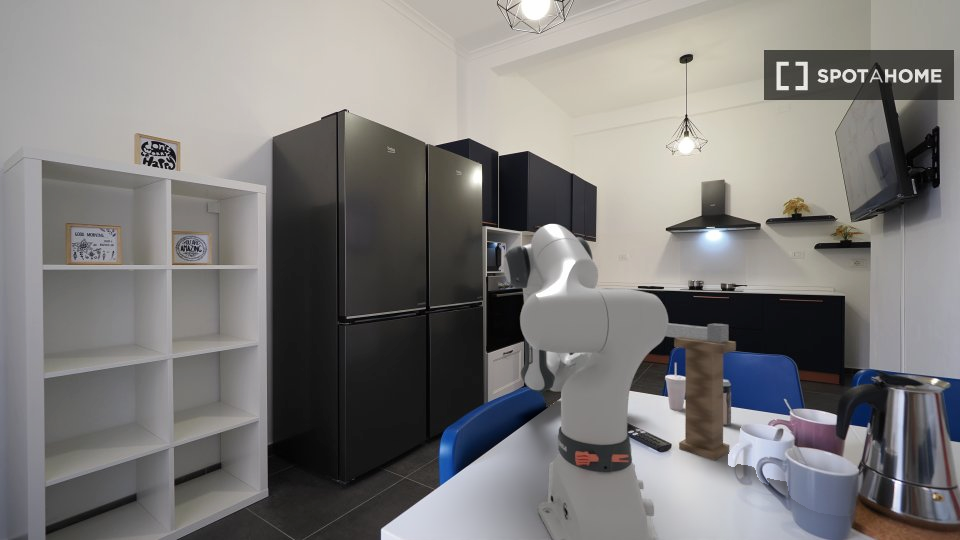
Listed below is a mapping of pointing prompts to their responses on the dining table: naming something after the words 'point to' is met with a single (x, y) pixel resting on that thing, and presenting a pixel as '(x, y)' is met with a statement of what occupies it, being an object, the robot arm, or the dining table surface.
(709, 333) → the grey long block
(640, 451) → the dining table surface
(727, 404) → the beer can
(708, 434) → the walnut stand
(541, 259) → the robot arm
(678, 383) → the smoothie
